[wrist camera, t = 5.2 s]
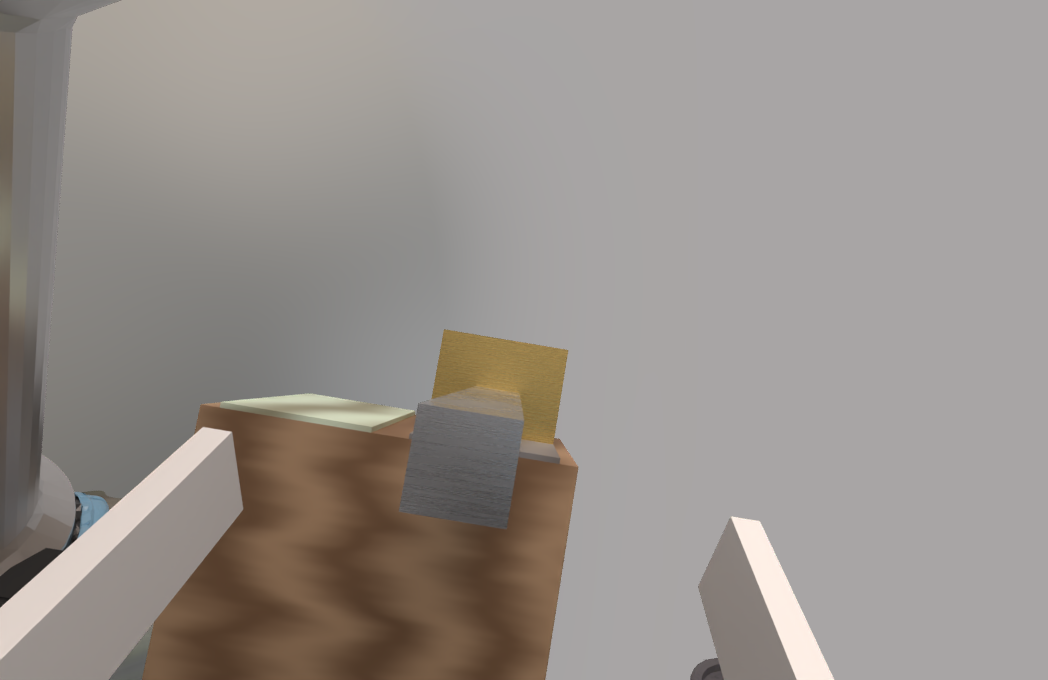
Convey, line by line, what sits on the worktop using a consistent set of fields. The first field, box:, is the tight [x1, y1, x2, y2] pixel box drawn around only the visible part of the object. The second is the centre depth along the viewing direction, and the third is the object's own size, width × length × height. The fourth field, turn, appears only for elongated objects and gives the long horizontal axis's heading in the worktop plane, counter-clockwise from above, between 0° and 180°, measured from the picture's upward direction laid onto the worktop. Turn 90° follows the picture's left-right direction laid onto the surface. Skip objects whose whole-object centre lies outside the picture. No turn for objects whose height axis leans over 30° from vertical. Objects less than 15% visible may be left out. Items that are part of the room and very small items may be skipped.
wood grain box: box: [142, 393, 578, 680], centre depth 30 cm, size 20×11×30 cm, turn 91°
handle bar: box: [399, 330, 568, 529], centre depth 25 cm, size 8×24×6 cm, turn 1°
